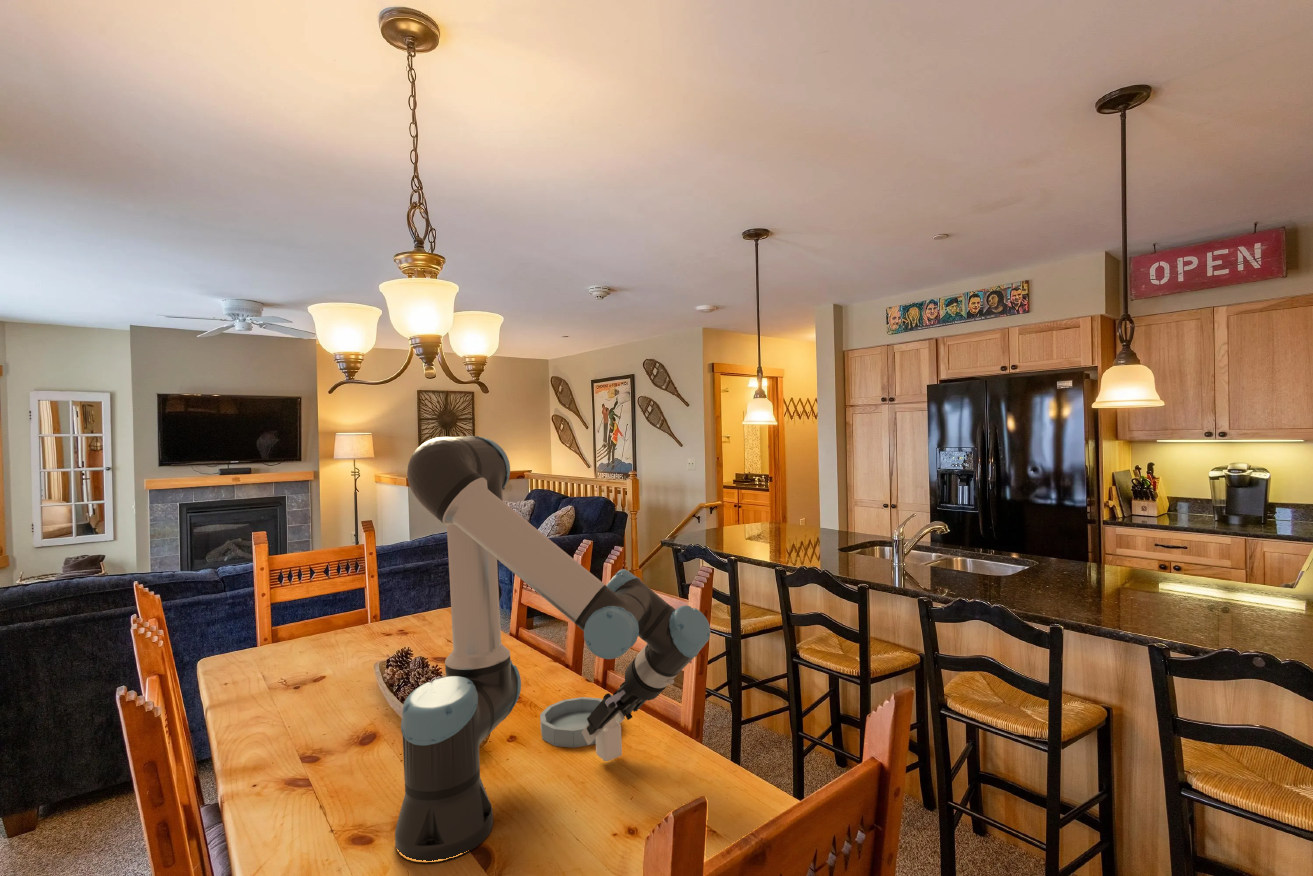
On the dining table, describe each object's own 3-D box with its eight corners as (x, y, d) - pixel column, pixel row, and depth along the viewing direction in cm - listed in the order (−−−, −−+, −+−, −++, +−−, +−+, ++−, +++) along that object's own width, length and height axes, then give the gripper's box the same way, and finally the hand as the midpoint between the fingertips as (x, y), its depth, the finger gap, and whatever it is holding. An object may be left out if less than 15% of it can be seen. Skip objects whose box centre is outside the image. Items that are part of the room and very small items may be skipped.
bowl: (571, 755, 126) (571, 737, 126) (526, 731, 137) (526, 715, 137) (630, 726, 137) (629, 710, 137) (584, 706, 148) (583, 691, 148)
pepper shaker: (605, 763, 120) (604, 713, 120) (595, 755, 123) (593, 706, 123) (623, 756, 122) (621, 707, 122) (612, 748, 125) (610, 701, 125)
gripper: (626, 705, 105) (569, 768, 117) (695, 674, 118) (637, 734, 129) (605, 666, 109) (551, 731, 121) (673, 640, 121) (619, 702, 133)
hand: (596, 733), depth 125 cm, fingers closed on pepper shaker, 4 cm apart
